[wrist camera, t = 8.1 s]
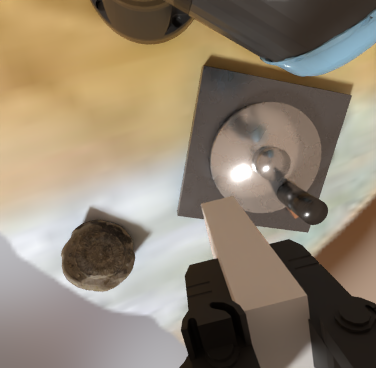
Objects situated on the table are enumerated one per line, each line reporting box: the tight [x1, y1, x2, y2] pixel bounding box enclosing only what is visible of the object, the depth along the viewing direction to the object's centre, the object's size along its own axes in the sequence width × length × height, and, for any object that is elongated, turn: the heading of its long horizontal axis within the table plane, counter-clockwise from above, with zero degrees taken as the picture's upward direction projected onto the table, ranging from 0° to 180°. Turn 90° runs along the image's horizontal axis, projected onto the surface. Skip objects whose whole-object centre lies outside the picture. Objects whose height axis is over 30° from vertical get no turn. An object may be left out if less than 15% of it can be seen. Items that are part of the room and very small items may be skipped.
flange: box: [210, 102, 328, 225], centre depth 35 cm, size 18×16×9 cm
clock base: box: [177, 66, 352, 232], centre depth 38 cm, size 22×22×7 cm
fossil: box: [61, 220, 135, 291], centre depth 41 cm, size 11×9×10 cm
